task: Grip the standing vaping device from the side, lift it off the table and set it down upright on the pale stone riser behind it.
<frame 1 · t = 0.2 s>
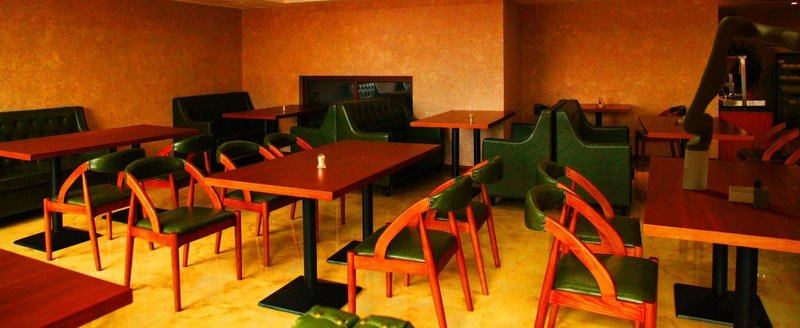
riser: (744, 199, 251), on the table
vaping device: (759, 208, 236), on the table
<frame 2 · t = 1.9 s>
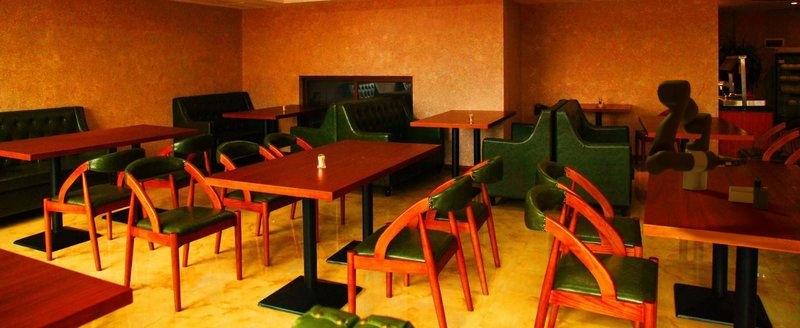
hand: (737, 159, 231), 19 cm above the table, tool horizontal, fingers open, 8 cm apart
nothing on the table moved.
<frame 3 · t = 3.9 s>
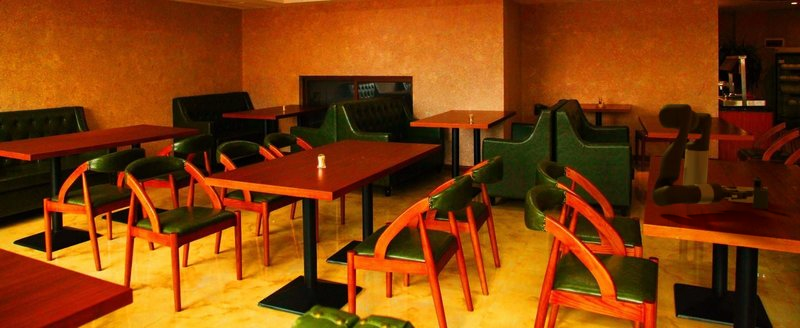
hand: (744, 191, 234), 7 cm above the table, tool horizontal, fingers open, 8 cm apart
nothing on the table moved.
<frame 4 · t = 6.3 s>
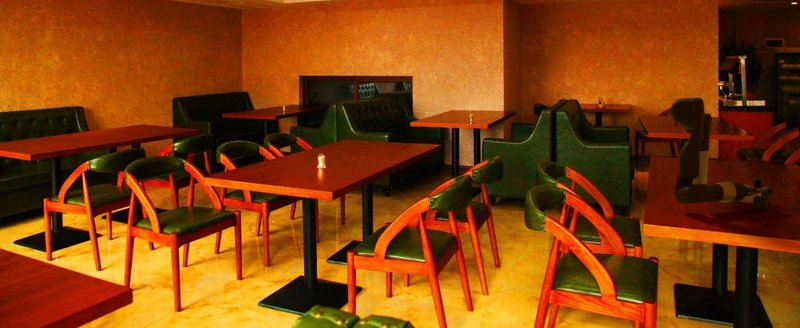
hand: (767, 189, 236), 7 cm above the table, tool horizontal, fingers closed on vaping device, 4 cm apart
vaping device: (759, 208, 236), on the table, touching gripper
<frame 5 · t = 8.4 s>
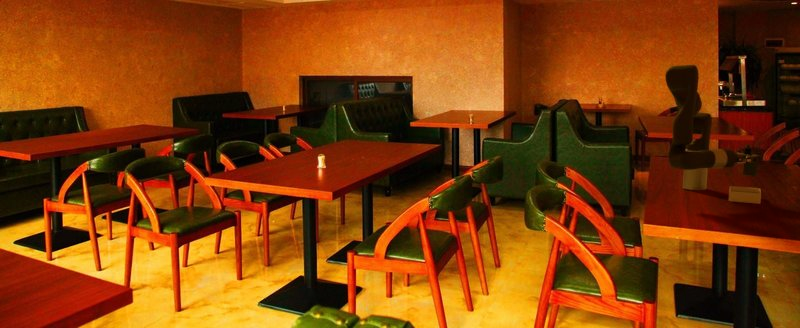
hand: (756, 157, 246), 18 cm above the table, tool horizontal, fingers closed on vaping device, 4 cm apart
vaping device: (749, 175, 247), point 10 cm above the table, touching gripper
when the fingers open (12 cm above the table, at t = 10.5 s): vaping device stays where it is, resting on riser.
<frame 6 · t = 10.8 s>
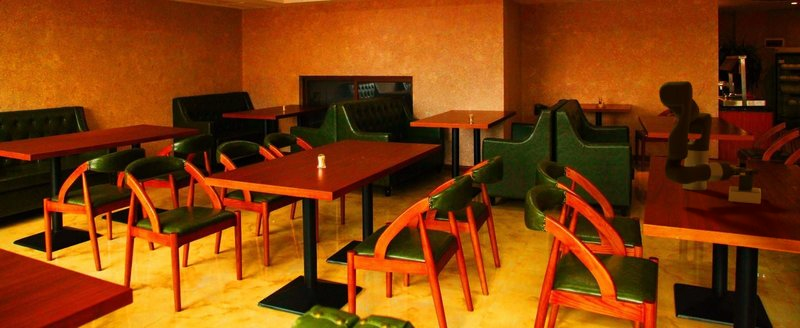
hand: (751, 170, 250), 12 cm above the table, tool horizontal, fingers open, 7 cm apart
vaping device: (744, 189, 250), point 4 cm above the table, touching riser
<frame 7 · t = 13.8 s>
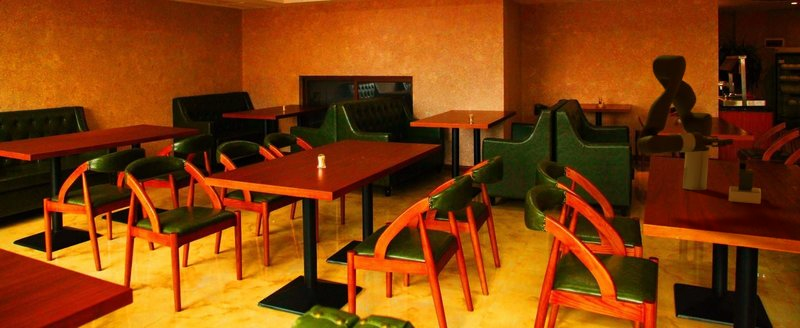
hand: (724, 140, 245), 24 cm above the table, tool horizontal, fingers open, 8 cm apart
nothing on the table moved.
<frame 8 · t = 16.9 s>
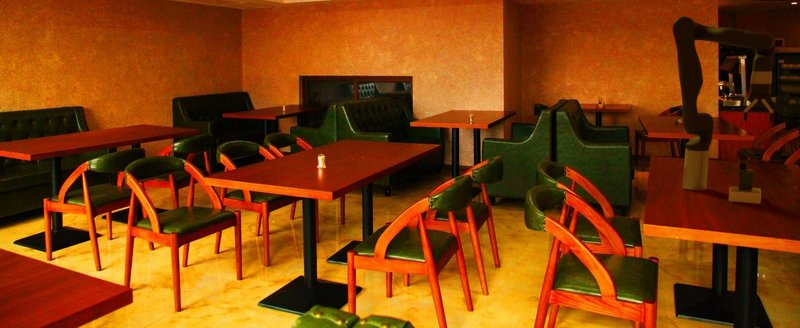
hand: (757, 121, 260), 30 cm above the table, tool pointing down, fingers open, 8 cm apart
nothing on the table moved.
at the end: vaping device inside the target area on the riser (0.2 cm from its centre), point 4.1 cm above the riser's base; vaping device tilted 0°; the gripper is holding nothing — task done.
